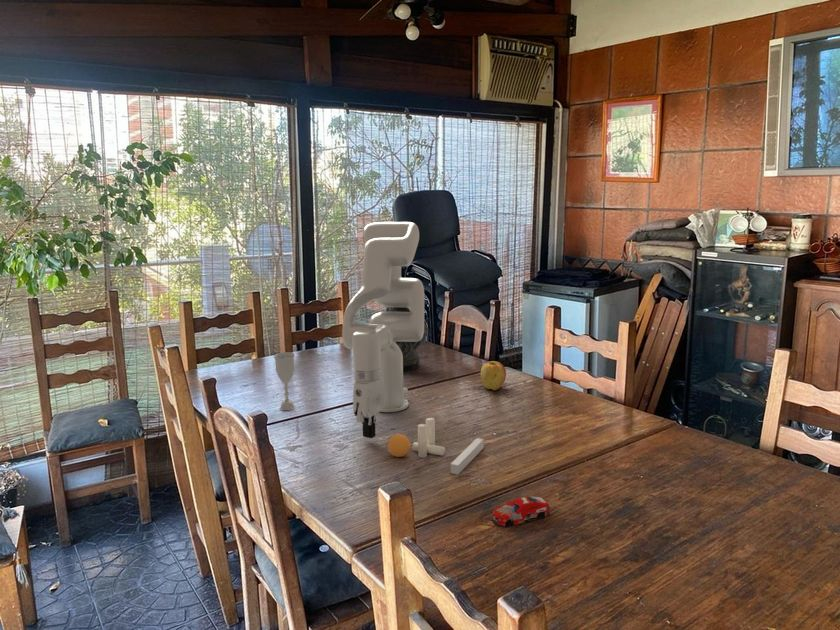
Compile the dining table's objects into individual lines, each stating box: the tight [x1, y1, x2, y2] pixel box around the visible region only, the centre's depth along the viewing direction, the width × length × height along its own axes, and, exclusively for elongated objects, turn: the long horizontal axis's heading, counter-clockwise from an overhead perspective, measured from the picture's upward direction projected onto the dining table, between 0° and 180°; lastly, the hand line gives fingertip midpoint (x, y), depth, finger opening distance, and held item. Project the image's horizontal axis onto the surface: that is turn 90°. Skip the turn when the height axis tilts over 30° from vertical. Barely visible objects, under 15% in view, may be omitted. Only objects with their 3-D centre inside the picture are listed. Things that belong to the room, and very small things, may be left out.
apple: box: [480, 360, 507, 391], centre depth 221 cm, size 9×9×10 cm
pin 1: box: [417, 423, 428, 459], centre depth 166 cm, size 2×2×8 cm
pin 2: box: [425, 417, 436, 445], centre depth 170 cm, size 2×2×8 cm
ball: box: [387, 433, 411, 458], centre depth 166 cm, size 6×6×6 cm
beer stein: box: [388, 307, 429, 372], centre depth 249 cm, size 16×19×25 cm
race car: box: [492, 496, 551, 528], centre depth 135 cm, size 13×5×4 cm, turn 111°
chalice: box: [273, 351, 296, 411], centre depth 203 cm, size 7×7×18 cm
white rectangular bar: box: [450, 437, 485, 475], centre depth 163 cm, size 18×2×2 cm, turn 154°
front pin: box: [412, 441, 446, 457], centre depth 168 cm, size 2×2×8 cm
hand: (369, 436), depth 176 cm, fingers closed
